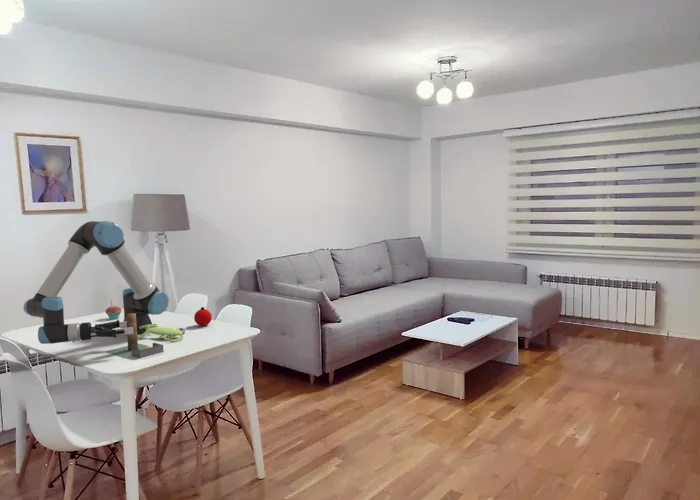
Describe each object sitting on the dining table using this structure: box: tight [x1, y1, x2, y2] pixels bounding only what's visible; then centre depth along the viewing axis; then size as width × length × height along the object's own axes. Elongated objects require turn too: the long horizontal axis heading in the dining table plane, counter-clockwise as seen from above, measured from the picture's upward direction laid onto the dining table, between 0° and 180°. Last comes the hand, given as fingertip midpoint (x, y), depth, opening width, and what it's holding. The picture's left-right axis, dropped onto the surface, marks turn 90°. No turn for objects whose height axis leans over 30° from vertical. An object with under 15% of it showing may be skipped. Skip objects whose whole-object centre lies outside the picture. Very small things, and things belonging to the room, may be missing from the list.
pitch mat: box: [104, 342, 150, 359], centre depth 224 cm, size 16×16×1 cm
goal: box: [131, 342, 164, 359], centre depth 218 cm, size 6×11×4 cm, turn 144°
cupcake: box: [105, 299, 123, 321], centre depth 291 cm, size 9×8×12 cm
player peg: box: [126, 313, 139, 351], centre depth 224 cm, size 4×4×16 cm
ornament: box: [193, 306, 213, 327], centre depth 270 cm, size 9×9×10 cm
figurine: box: [137, 323, 186, 343], centre depth 248 cm, size 18×27×6 cm
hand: (134, 326), depth 224 cm, fingers open, 13 cm apart
